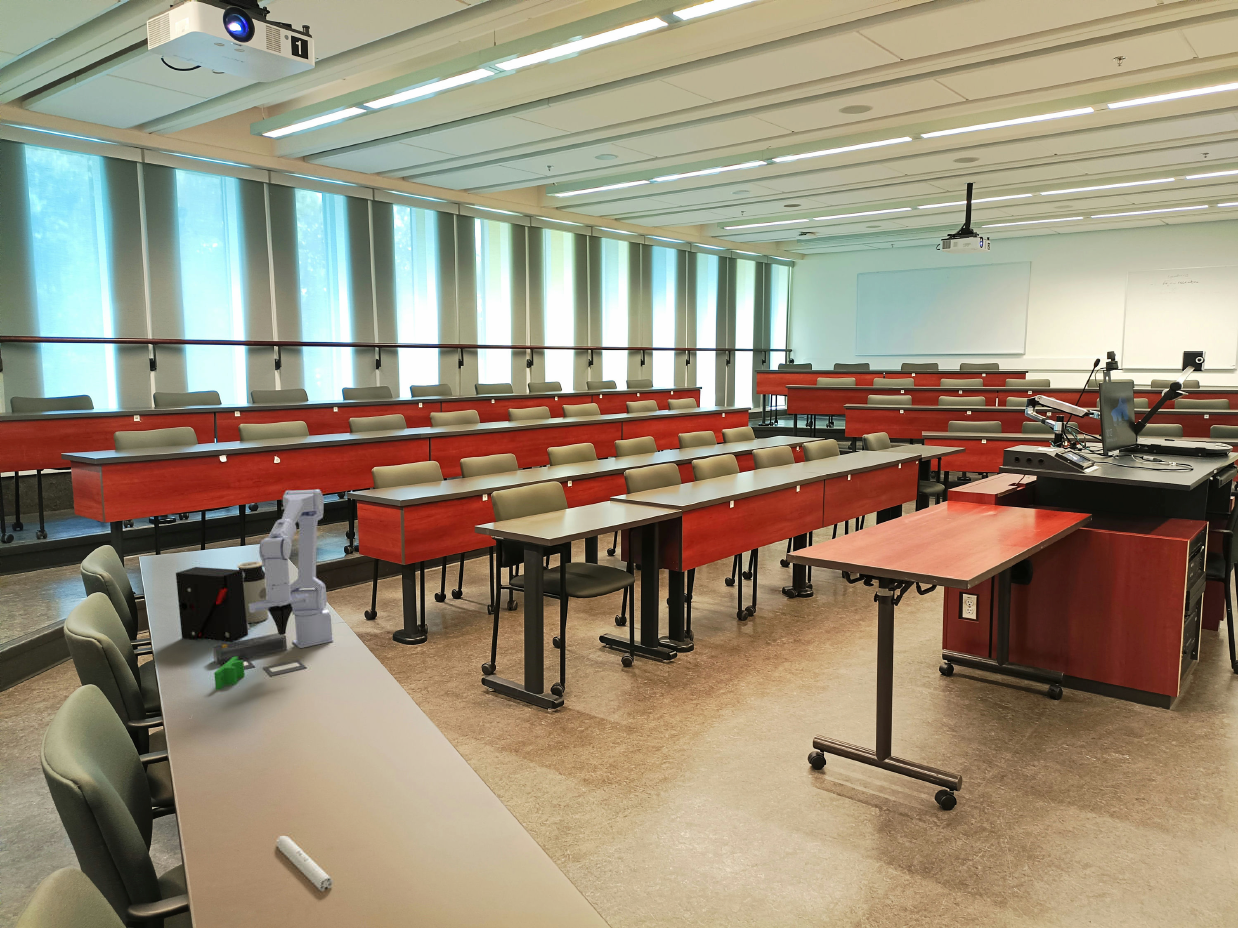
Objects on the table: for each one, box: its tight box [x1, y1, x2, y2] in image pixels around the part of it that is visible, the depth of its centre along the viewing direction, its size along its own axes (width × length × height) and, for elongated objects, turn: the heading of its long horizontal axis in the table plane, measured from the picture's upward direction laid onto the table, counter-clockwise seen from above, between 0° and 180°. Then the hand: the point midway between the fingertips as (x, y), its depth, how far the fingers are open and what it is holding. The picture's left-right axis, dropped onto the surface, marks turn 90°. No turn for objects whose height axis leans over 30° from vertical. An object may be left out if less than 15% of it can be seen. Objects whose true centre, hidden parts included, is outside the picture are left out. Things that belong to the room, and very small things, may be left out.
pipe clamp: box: [213, 657, 246, 690], centre depth 211 cm, size 11×4×5 cm, turn 2°
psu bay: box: [212, 632, 288, 665], centre depth 230 cm, size 18×5×4 cm, turn 126°
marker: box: [276, 835, 334, 892], centre depth 131 cm, size 18×2×2 cm, turn 44°
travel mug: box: [236, 561, 269, 624], centre depth 263 cm, size 8×8×18 cm
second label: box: [262, 659, 307, 677], centre depth 219 cm, size 9×8×1 cm
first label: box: [219, 658, 256, 671], centre depth 222 cm, size 7×8×1 cm
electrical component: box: [175, 566, 251, 643], centre depth 247 cm, size 18×10×20 cm, turn 71°
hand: (281, 633), depth 218 cm, fingers closed
